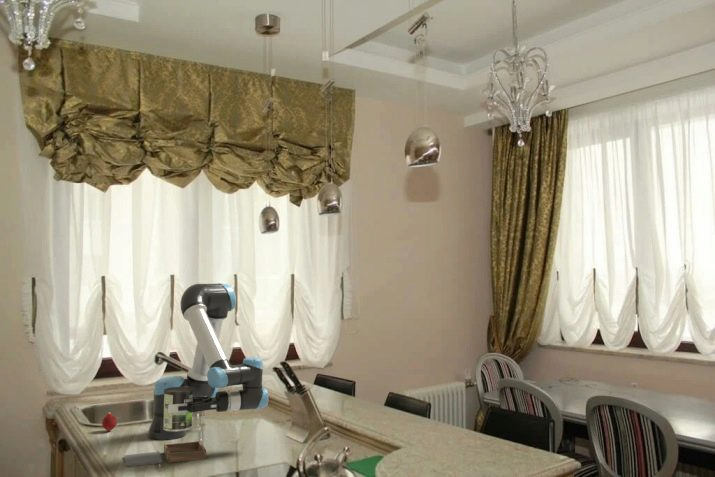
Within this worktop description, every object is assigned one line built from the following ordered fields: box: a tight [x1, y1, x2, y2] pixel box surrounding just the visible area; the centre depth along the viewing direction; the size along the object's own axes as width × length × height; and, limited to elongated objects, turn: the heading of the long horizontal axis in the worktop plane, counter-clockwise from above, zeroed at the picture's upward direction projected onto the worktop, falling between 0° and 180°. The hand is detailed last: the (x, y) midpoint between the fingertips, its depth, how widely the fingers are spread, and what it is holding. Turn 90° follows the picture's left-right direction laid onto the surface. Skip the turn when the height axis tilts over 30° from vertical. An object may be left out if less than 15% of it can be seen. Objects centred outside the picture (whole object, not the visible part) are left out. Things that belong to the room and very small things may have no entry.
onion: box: [101, 411, 118, 432], centre depth 257 cm, size 6×6×8 cm
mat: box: [123, 451, 163, 468], centre depth 218 cm, size 12×12×1 cm
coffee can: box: [163, 387, 193, 432], centre depth 223 cm, size 10×10×14 cm
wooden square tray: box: [163, 440, 207, 464], centre depth 224 cm, size 13×13×3 cm
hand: (166, 405), depth 221 cm, fingers closed on coffee can, 10 cm apart
